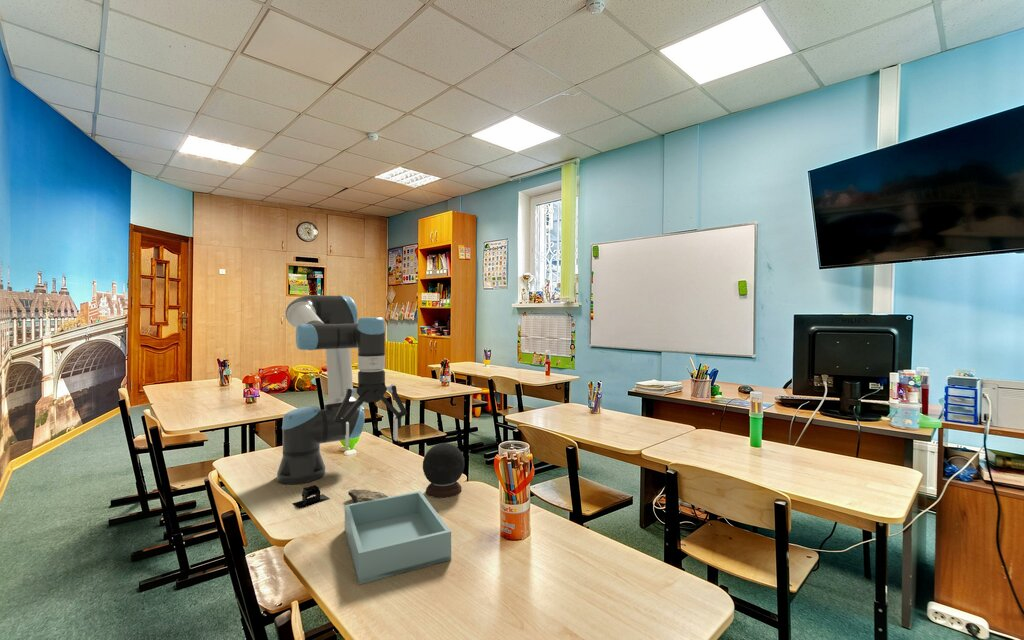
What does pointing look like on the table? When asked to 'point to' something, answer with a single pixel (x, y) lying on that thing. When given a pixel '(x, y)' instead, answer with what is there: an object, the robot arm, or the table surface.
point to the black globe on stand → (443, 470)
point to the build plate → (312, 500)
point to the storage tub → (395, 536)
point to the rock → (365, 495)
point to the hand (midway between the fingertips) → (371, 442)
